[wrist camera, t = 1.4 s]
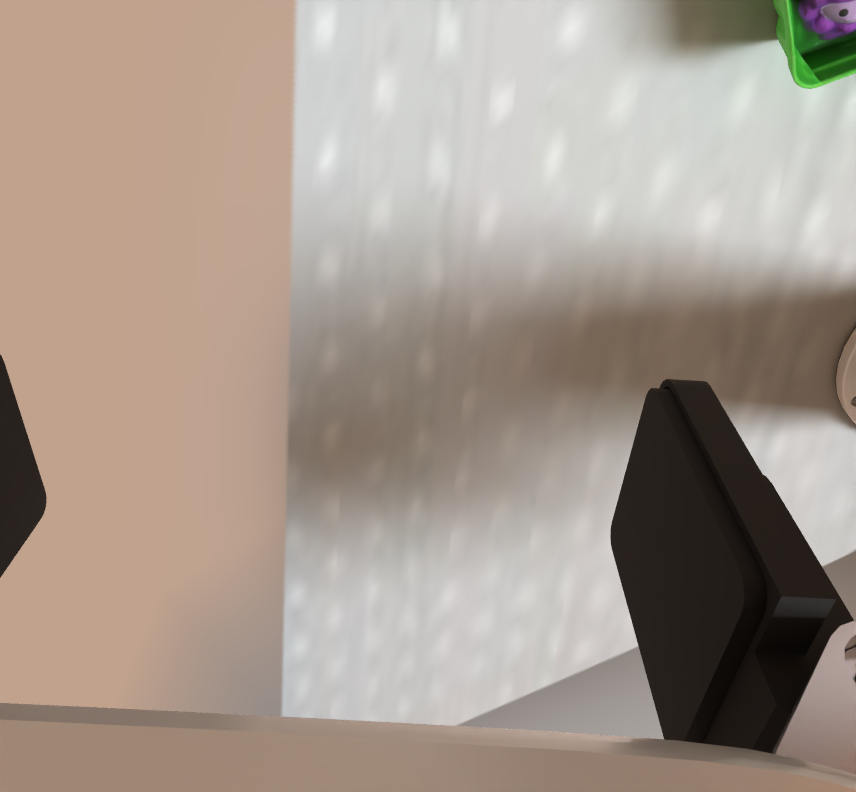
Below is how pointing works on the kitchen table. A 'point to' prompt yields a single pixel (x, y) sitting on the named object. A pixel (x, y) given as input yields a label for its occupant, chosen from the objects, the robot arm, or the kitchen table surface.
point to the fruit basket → (817, 39)
